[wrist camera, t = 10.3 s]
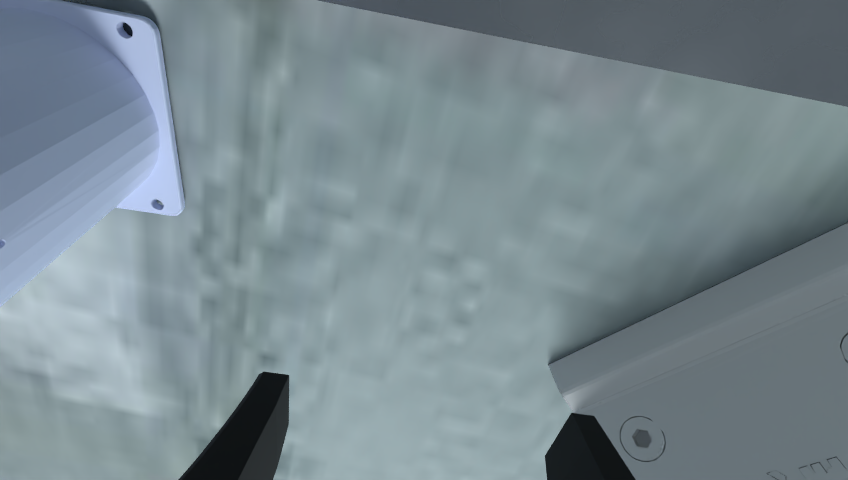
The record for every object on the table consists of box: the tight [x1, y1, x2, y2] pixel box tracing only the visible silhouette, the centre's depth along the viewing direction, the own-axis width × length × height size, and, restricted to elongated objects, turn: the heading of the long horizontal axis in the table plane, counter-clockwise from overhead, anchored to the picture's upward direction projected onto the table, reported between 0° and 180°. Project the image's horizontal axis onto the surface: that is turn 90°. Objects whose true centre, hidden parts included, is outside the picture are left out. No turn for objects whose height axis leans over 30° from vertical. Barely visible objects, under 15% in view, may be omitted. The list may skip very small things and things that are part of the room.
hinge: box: [549, 223, 848, 480], centre depth 21 cm, size 17×5×10 cm, turn 129°
